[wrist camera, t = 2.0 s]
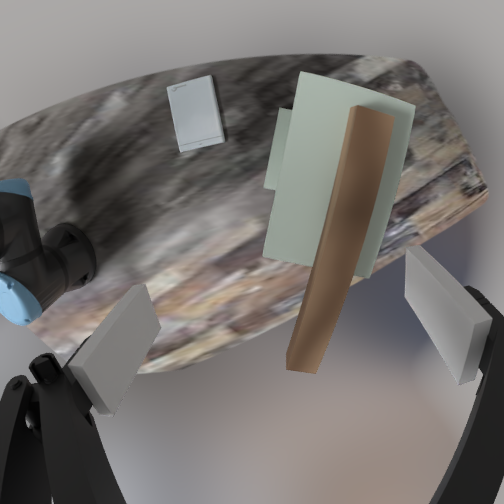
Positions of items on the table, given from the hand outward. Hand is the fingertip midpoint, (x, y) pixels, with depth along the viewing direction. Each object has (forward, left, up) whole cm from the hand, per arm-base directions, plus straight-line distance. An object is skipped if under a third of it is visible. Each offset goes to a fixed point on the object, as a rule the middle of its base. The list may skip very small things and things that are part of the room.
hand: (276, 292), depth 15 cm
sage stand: (+6, +3, -41) cm, 42 cm away
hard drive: (-12, +13, -42) cm, 46 cm away
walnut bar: (+5, -3, -12) cm, 13 cm away
